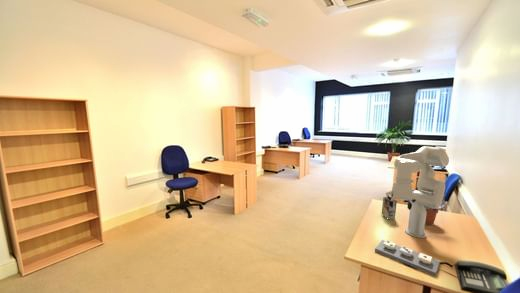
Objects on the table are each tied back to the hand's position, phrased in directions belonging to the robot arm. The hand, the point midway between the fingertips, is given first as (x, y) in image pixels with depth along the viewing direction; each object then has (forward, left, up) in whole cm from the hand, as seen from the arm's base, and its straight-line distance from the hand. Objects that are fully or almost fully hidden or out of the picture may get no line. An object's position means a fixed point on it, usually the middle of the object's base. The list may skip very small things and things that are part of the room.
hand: (400, 208), depth 137 cm
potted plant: (-60, +6, -28) cm, 66 cm away
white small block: (+5, +7, -26) cm, 27 cm away
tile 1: (+5, +16, -26) cm, 31 cm away
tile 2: (+5, -2, -26) cm, 27 cm away
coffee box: (-48, -17, -28) cm, 58 cm away
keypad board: (+5, +7, -27) cm, 29 cm away
